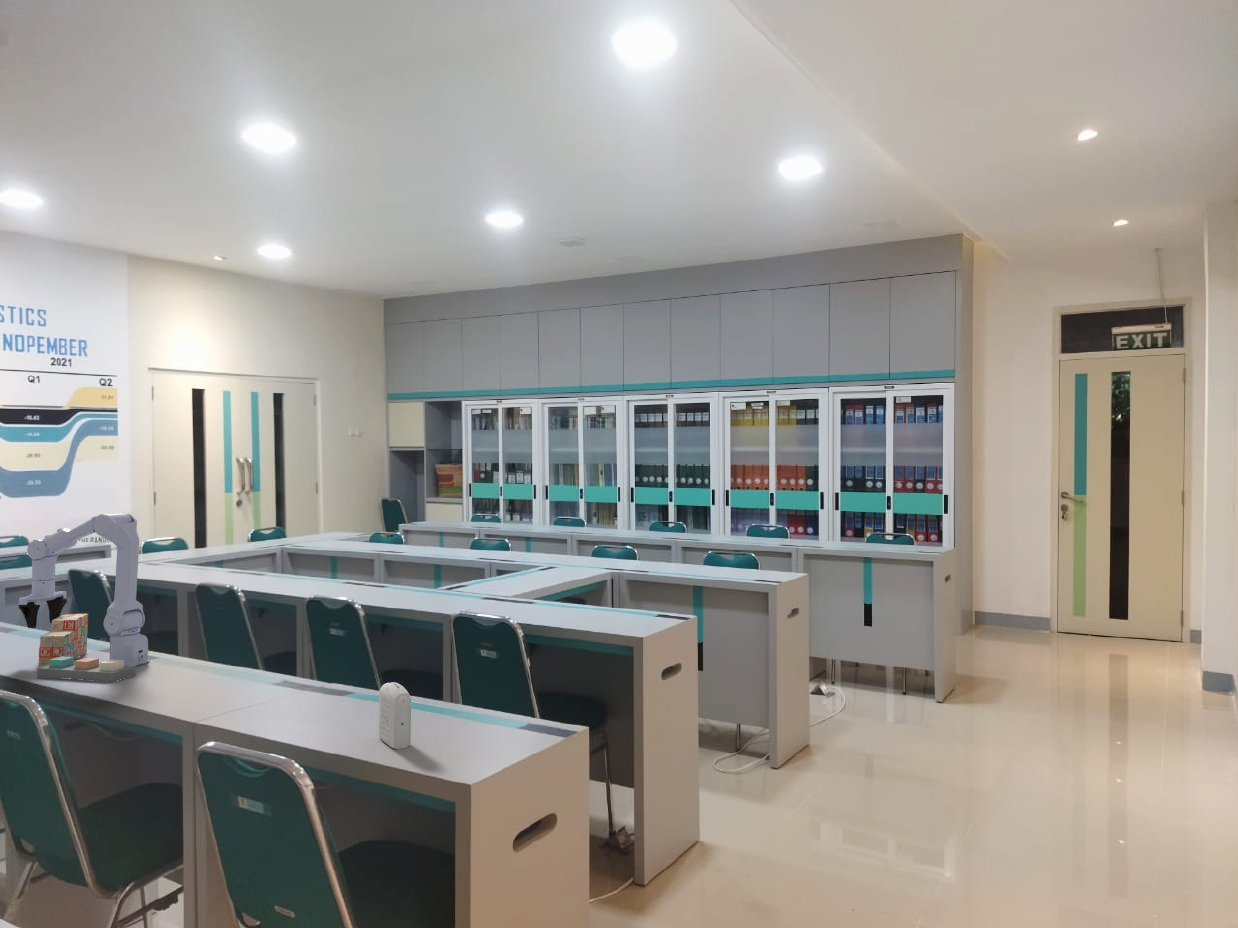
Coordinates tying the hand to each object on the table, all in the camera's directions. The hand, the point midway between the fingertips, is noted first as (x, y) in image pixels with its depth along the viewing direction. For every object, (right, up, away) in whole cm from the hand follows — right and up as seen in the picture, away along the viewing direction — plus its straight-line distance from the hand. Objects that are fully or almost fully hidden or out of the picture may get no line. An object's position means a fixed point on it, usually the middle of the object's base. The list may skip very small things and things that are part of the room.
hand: (43, 625), depth 250 cm
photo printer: (+124, -11, -73) cm, 144 cm away
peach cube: (+25, -10, -20) cm, 34 cm away
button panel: (+25, -10, -20) cm, 34 cm away
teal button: (+18, -10, -18) cm, 27 cm away
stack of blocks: (+7, -10, -1) cm, 13 cm away
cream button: (+33, -10, -21) cm, 41 cm away
